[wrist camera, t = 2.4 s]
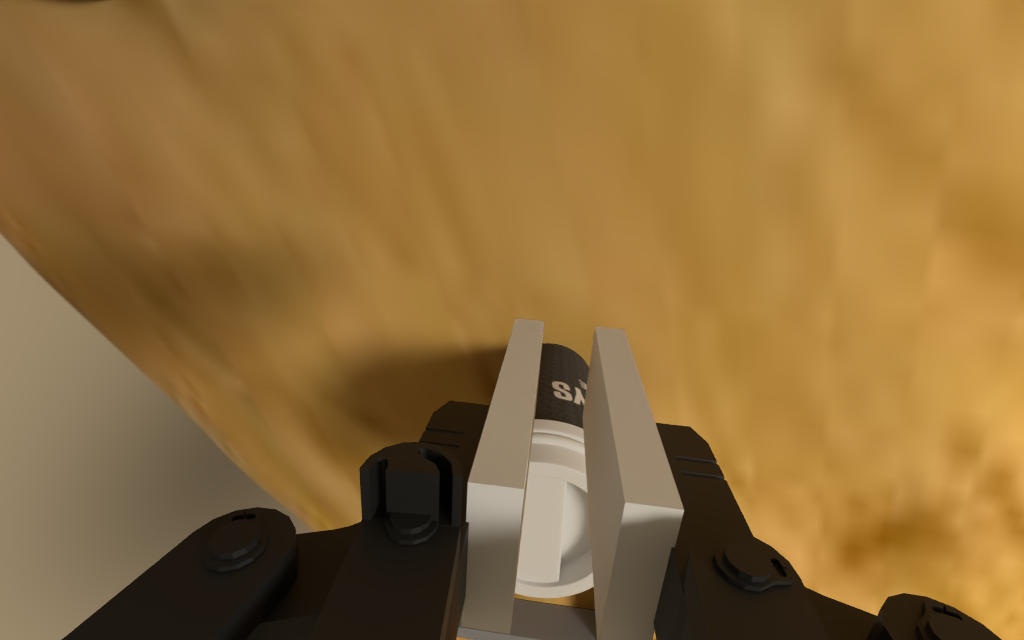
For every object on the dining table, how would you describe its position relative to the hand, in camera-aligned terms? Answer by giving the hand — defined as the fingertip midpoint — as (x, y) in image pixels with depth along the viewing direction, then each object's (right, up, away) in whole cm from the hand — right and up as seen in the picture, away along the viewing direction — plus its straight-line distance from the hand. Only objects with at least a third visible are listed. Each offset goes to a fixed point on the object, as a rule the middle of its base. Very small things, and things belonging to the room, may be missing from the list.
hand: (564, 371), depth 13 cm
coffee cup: (+1, -3, +23) cm, 23 cm away
